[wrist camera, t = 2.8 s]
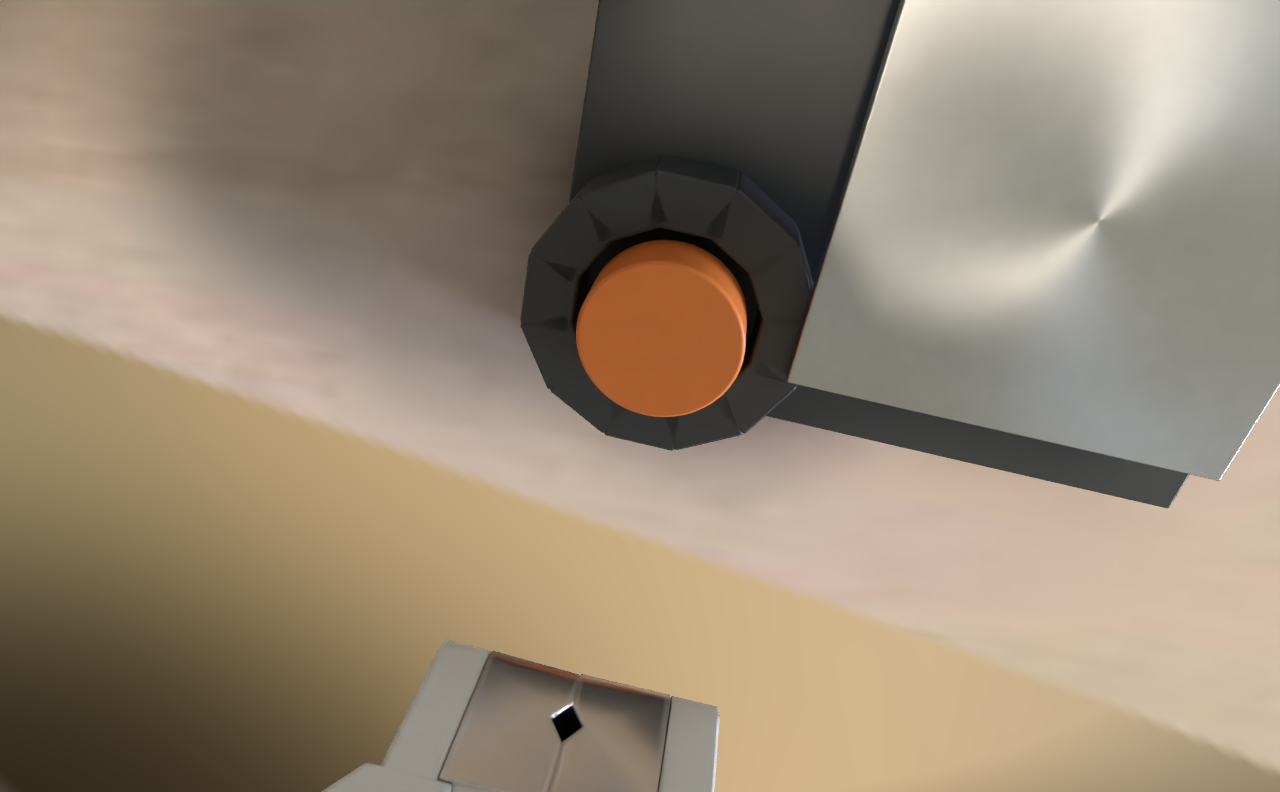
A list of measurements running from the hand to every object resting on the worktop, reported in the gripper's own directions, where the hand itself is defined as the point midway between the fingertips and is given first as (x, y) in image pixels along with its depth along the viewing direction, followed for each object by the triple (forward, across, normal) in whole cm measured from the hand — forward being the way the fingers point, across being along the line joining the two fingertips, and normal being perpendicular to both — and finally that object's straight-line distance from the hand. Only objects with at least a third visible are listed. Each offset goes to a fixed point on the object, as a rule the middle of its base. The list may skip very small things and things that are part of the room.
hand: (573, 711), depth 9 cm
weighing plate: (+11, -7, -4) cm, 14 cm away
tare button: (+11, 0, 0) cm, 11 cm away
